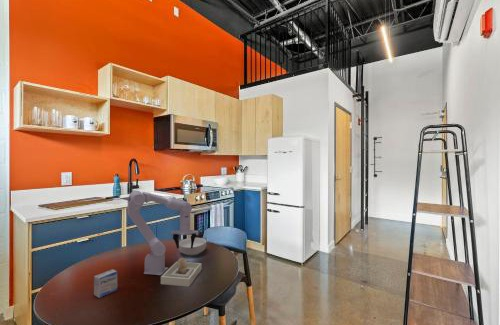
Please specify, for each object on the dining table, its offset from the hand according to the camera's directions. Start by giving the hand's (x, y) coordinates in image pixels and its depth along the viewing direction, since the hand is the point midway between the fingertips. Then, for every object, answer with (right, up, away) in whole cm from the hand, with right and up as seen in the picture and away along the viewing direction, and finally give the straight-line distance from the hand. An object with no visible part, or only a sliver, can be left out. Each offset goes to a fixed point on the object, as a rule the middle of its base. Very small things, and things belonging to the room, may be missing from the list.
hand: (184, 247), depth 135 cm
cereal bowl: (0, -9, +17) cm, 19 cm away
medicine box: (-27, -10, -28) cm, 40 cm away
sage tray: (+2, -10, -13) cm, 16 cm away
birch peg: (+2, -9, -13) cm, 16 cm away
